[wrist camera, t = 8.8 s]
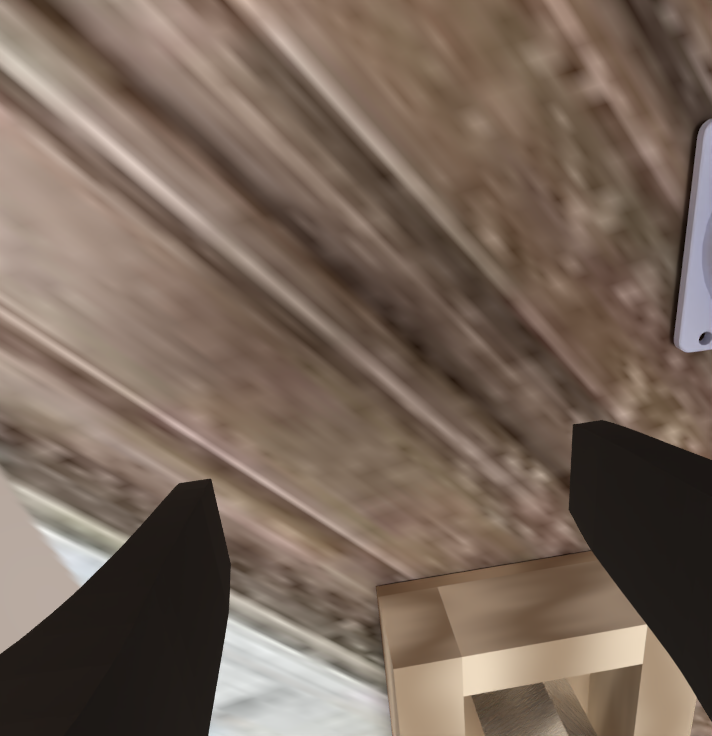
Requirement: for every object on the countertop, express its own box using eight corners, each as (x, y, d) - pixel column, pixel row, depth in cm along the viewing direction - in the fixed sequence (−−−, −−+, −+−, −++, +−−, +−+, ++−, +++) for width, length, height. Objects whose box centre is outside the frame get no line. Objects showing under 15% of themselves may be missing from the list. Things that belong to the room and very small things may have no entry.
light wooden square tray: (646, 541, 25) (711, 612, 21) (625, 729, 29) (675, 816, 26) (376, 586, 24) (393, 669, 20) (396, 773, 29) (414, 869, 25)
